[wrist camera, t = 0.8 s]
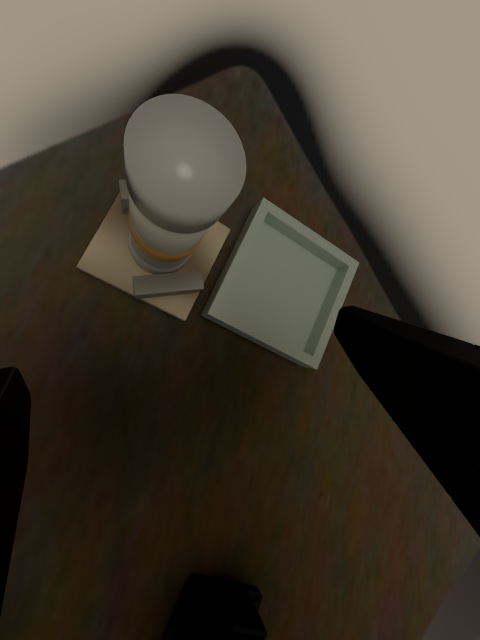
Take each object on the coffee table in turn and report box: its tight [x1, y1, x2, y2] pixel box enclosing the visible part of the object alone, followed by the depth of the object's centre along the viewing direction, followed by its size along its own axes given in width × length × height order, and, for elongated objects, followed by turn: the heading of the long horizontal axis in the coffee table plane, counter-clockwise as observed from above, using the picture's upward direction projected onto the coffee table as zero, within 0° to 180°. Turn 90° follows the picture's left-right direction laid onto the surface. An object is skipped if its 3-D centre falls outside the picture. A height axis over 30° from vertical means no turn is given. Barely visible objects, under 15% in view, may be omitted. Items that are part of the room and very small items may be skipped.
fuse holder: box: [77, 180, 230, 321], centre depth 21 cm, size 8×8×4 cm
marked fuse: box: [124, 94, 246, 275], centre depth 16 cm, size 4×4×12 cm
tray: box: [201, 197, 359, 370], centre depth 25 cm, size 10×10×2 cm
